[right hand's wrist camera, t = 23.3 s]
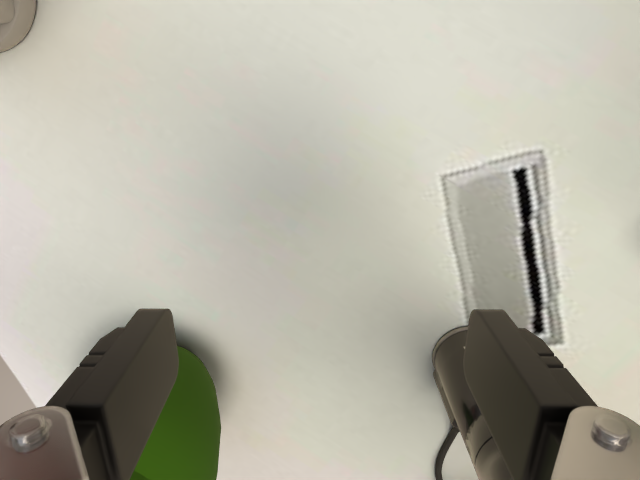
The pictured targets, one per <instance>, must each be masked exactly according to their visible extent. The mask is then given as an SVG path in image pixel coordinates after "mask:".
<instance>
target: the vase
mask: <svg viewBox="0 0 640 480" xmlns="http://www.w3.org/2000/svg"><path fill="white" fill-rule="evenodd" d="M177 350H178V357H179V368H178V375H177V378H176V381H175V384H174V386H173V388H172V390H171V392H170V394H169V396H168V399H167V401H166V403H165V405H164V407H163V409H162V411H161V414H160V416H159V418H158V420H157V422H156V424H155V426H154V429H153V431H152V433H151V435H150V437H149V439H148V441H147V443H146V446H145V448H144V450H143V452H142V454H141V456H140V458H139V461H138V463H137V465H136V467H135V469H134V471H133V473H132V476H131V478H130V480H216V478H217V471H218V458H219V446H220V433H221V423H220V414H219V408H218V402H217V396H216V390H215V387H214V384H213V381H212V379H211V377H210V375H209V373H208V371H207V369H206V368H205V366H204V364H203V363H202V361H201V360H200V359H199V358H198V357H197V356H196V355H194V354H193V353H192V352H190V351H189V350H187V349H185V348H183V347H180V346H177Z"/></svg>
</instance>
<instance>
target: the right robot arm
mask: <svg viewBox="0 0 640 480" xmlns="http://www.w3.org/2000/svg"><path fill="white" fill-rule="evenodd" d="M432 361H433V365H434V368H435V371H434V373H433V376H434V379H435V381H436V384H437V387H438V389H439V392H440V395H441V397H442V400H443V403H444V405H445V408H446V411H447V413H448V416H449V419H450V421H451V424H452V425H453V426H454V427H453V428H452V430H451V431H450V433H449V435H448V437H447V438H446V440H445V442H444V444H443V446H442V448H441V450H440V452H439V455H438V458H437V461H436V468H435V475H436V480H443V479H442V474H441V470H442V464H443V461H444V458H445V455H446V453H447V451H448V449H449V447H450V445H451V444H452V442H453V440H454V439H455V437H456V435H457V433H458V432H461V435H462V437H463V440H464V443H465V445H466V448H467V450H468V452H469V455H470V458H471V460H472V463H473V465H474V468H475V470H476V473H477V476H478V479H479V480H640V426H639V425H638V424H637V423H635V422H634V421H632V420H631V419H629V418H627V417H626V416H624V415H622V414H619V413H617V412H615V411H612V410H609V409H606V408H602V407H598V406H597V405H596V404H595V402H594V401H593V400H592V399H591V398H590V396H589V395H588V394H587V393H586V392H585V390H584V389H583V388H582V387H581V386H580V384H579V383H578V382H577V381H576V380H575V378H574V377H573V376H572V375H571V374H570V372H569V371H568V370H567V369H566V368H564V367H563V364H562V363H561V362H560V360H559V359H558V358H557V357H556V356H554V353H553V352H552V351H551V350H550V348H549V347H548V346H547V345H546V344H545V342H544V341H543V340H542V339H540V338H539V337H537V336H536V335H534V334H533V333H531V332H530V331H528V330H527V329H525V328H518V327H517V326H516V325H515V324H514V322H513V321H512V320H511V318H510V317H509V316H508V315H507V313H506V312H505V311H504V310H473V311H472V312H471V314H470V318H469V325H468V326H465V327H460V328H457V329H454V330H452V331H450V332H448V333H447V334H445V335H444V336H443V337H442V338H441V339H440V340H439V341H438V343H437V344H436V346H435V348H434V351H433V355H432ZM178 368H179V357H178V350H177V343H176V336H175V329H174V322H173V316H172V313H171V311H170V310H169V309H139V310H138V311H137V312H136V313H135V314H134V316H133V317H132V318H131V320H130V321H129V322H128V324H127V325H126V326H125V328H116V329H115V330H113V331H112V332H110V333H109V334H107V335H106V336H104V337H103V338H101V339H100V340H99V341H98V342H97V344H96V345H95V346H94V347H93V348H92V350H91V351H90V352H89V355H87V356H86V357H85V358H84V359H83V361H82V362H81V363H80V366H79V367H77V368H76V369H75V370H74V372H73V373H72V374H71V375H70V376H69V378H68V379H67V380H66V381H65V382H64V384H63V385H62V386H61V387H60V388H59V390H58V391H57V392H56V393H55V395H54V396H53V397H52V398H51V399H50V401H49V402H48V403H47V404H46V405H45V406H44V407H38V408H34V409H31V410H28V411H25V412H23V413H21V414H19V415H17V416H14V417H13V418H11V419H9V420H8V421H6V422H5V423H3V424H2V425H1V426H0V480H130V478H131V476H132V473H133V471H134V469H135V467H136V465H137V463H138V461H139V458H140V456H141V454H142V452H143V450H144V448H145V446H146V443H147V441H148V439H149V437H150V435H151V433H152V431H153V429H154V426H155V424H156V422H157V420H158V418H159V416H160V414H161V411H162V409H163V407H164V405H165V403H166V401H167V399H168V396H169V394H170V392H171V390H172V388H173V386H174V384H175V381H176V378H177V375H178Z"/></svg>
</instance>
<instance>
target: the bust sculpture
mask: <svg viewBox="0 0 640 480" xmlns="http://www.w3.org/2000/svg"><path fill="white" fill-rule="evenodd" d="M35 10H36V0H0V52H3V51H6V50H9V49H11V48H13V47H14V46H16V45H17V44H18V43H19V42H21V41H22V40H23V38H24V37H25V36H26V35H27V33H28V31H29V30H30V28H31V25H32V23H33V20H34V16H35Z"/></svg>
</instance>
